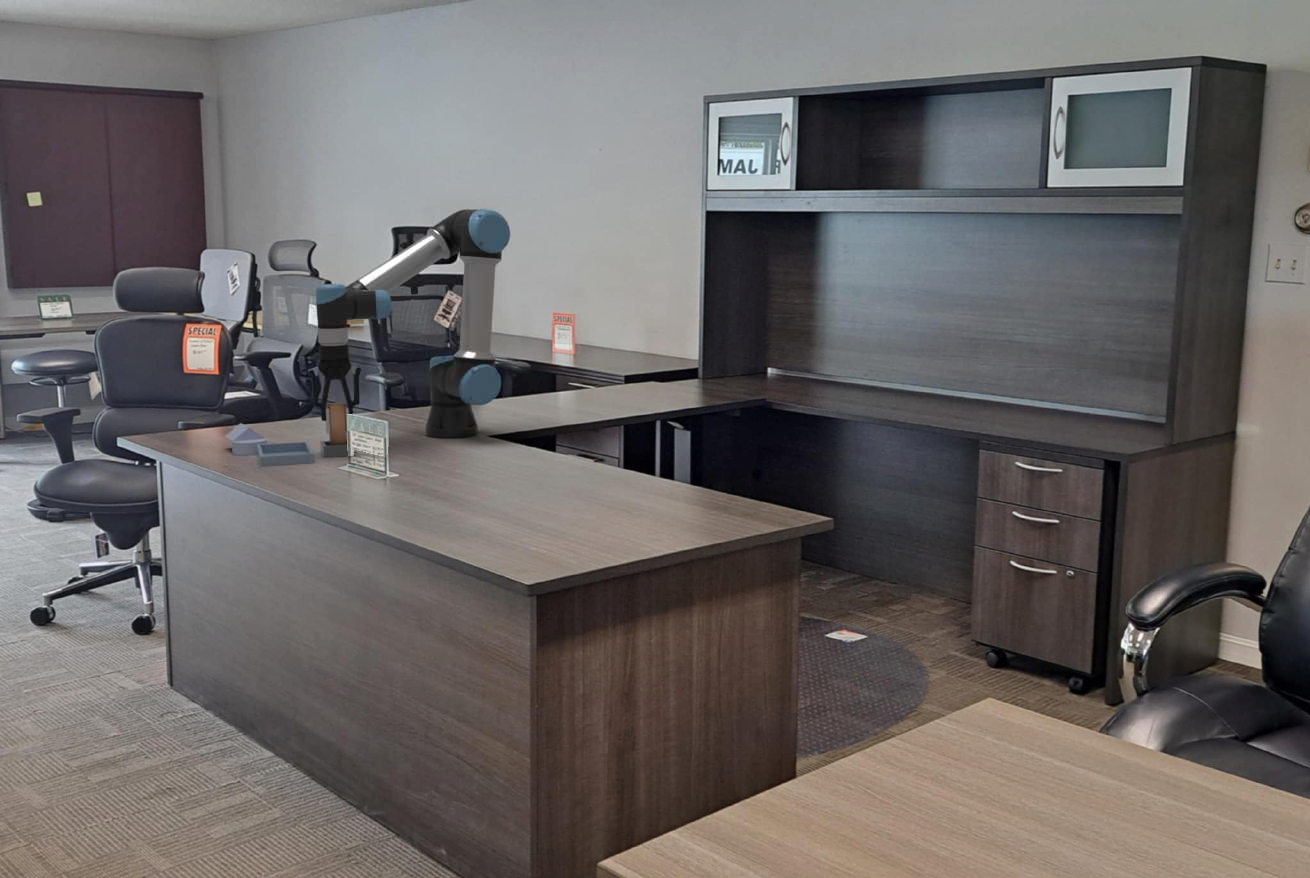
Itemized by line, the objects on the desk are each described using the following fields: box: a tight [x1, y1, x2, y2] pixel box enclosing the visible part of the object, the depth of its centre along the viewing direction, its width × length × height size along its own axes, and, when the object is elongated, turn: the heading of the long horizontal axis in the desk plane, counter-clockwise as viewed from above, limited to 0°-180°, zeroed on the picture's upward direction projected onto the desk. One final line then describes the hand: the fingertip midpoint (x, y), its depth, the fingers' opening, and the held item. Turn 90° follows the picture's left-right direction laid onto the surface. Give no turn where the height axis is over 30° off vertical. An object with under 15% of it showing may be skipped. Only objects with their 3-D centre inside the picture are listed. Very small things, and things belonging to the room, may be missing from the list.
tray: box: [256, 441, 315, 468], centre depth 317 cm, size 13×18×3 cm
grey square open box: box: [320, 440, 348, 459], centre depth 323 cm, size 8×8×4 cm
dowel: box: [327, 402, 348, 446], centre depth 322 cm, size 4×4×12 cm
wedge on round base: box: [224, 423, 268, 456], centre depth 330 cm, size 9×7×13 cm
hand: (337, 432), depth 322 cm, fingers closed on dowel, 4 cm apart
